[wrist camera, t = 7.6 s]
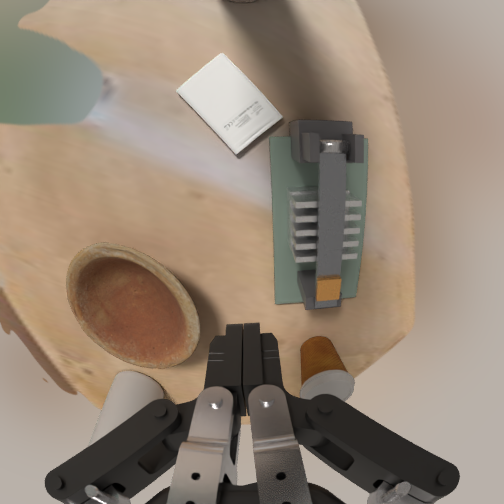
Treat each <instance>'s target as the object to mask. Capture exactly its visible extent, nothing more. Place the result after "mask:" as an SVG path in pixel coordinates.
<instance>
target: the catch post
mask: <svg viewBox="0 0 504 504" xmlns="http://www.w3.org/2000/svg"><path fill="white" fill-rule="evenodd" d="M315 276H316V269H315V270H300V271H297V283H298V287H299V290H300V293H301V297H302V300H303V303H304V307H305V310H310V309H321V308H315V307H314V292H315ZM341 299H342V293H341V291H340V296H339V299H337V306H333V307H341ZM323 308H331V307H323Z"/></svg>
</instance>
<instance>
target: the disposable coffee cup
mask: <svg viewBox="0 0 504 504" xmlns="http://www.w3.org/2000/svg"><path fill="white" fill-rule="evenodd" d="M300 351H301V381H302V387H301V390H300V398H303V399H310V400H311V399H312V398H313V397H315V396H317V395H319V394H331V395H334V396H336V397H338V398H340V399H341V400H343V401H344V402H345V401H346V400H347V399H348V398H349V397H350V396H351V395H352V393H353V390H354V384H355V382H354V378H353V377H352V376H351V375H350V374H349V373H348V372H347V370H346V368H345V366H344V365H343V363H342V361H341V359H340V357H339V355H338V354H337V352H336V350H335V348H334V346H333V344H332V343H331V341H330V340H329V339H328V338H326V337H322V336H318V337H313V338H311V339H309V340H307V341H306V342H304V343H303V345H302V347H301V350H300Z"/></svg>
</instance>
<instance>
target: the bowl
mask: <svg viewBox="0 0 504 504" xmlns="http://www.w3.org/2000/svg"><path fill="white" fill-rule="evenodd" d="M66 289H67V297H68V301H69V304H70V307H71V309H72V311H73V313H74V315H75V317H76V319H77V321H78V322H79V324H80V325H81V327H82V329H83V331H84V332H85V333H86V334H87V335H88V336H89V337H90V338H91V339H92V340H93V341H94V342H95V343H97V344H98V345H99V346H100V347H102V348H103V349H104V350H106V351H107V352H108V353H110V354H112V355H113V356H115V357H117V358H119V359H121V360H123V361H125V362H127V363H130V364H133V365H136V366H140V367H146V368H158V369H165V368H168V367H172V366H175V365H178V364H180V363H182V362H184V361H185V360H186V359H188V358H189V357H190V356H191V355H192V354H193V352H194V351H195V349H196V347H197V345H198V342H199V338H200V320H199V316H198V312H197V309H196V307H195V304H194V302H193V300H192V299H191V297H190V295H189V294H188V292H187V290H186V289H185V288H184V286H183V285H182V284H181V282H180V281H179V280H178V279H177V278H176V277H175V276H174V275H173V274H172V273H171V272H170V271H169V270H168V269H166V268H165V267H164V266H163V265H161V264H160V263H159V262H157V261H156V260H155V259H153V258H151V257H150V256H148V255H146V254H144V253H142V252H139V251H137V250H135V249H133V248H129V247H126V246H122V245H118V244H112V243H107V242H103V243H96V244H93V245H90V246H88V247H86V248H84V249H83V250H82V251H80V252H79V253H78V254H77V255H76V256H75V257H74V258H73V260H72V261H71V263H70V265H69V268H68V272H67V278H66Z"/></svg>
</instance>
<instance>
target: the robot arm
mask: <svg viewBox="0 0 504 504" xmlns="http://www.w3.org/2000/svg"><path fill="white" fill-rule="evenodd" d="M229 1H233V2H253V1H256V0H229ZM246 407H247V413H248V416H250V422H251V430H252V439H253V451H254V460H255V468H256V476H257V482H256V483H252V484H248V485H244V486H238V485H237V460H238V451H239V442H240V428H241V416H246ZM299 444H300V445H303V446H304V447H305V448H306V449H307V450H308V451H310V452H311V453H312V454H314V455H315V456H316V457H318V458H319V459H320V460H322V461H323V462H324V463H326V464H327V465H328V466H330V467H331V468H333V469H334V470H335V471H337V472H338V473H340V474H341V475H343V476H344V477H345V478H347V479H349V480H350V481H351V482H353V483H355V484H356V485H357V486H359V487H361V488H362V489H364V490H366V491H367V492H368V493H370V495H369V497H368V500H367V504H434V503H435V502H436V501H437V500H439V499H441V498H443V497H444V496H446V495H448V494H450V493H451V492H452V491H453V490H454V489H455V488H456V487H457V485H458V482H459V478H460V475H459V471H458V469H457V467H456V466H454V465H453V464H452V463H449V462H448V461H446V460H443V459H442V458H440V457H438V456H436V455H434V454H432V453H430V452H428V451H426V450H424V449H423V448H421V447H419V446H417V445H415V444H413V443H412V442H410V441H408V440H406V439H405V438H403V437H401V436H399V435H398V434H396V433H394V432H392V431H391V430H389V429H387V428H386V427H384V426H382V425H381V424H379V423H377V422H376V421H374V420H372V419H370V418H369V417H368V416H366V415H364V414H363V413H361V412H360V411H358V410H356V409H355V408H353V407H352V406H350V405H349V404H347V403H345V402H344V401H343V400H341V399H340V398H338V397H336V396H334V395H331V394H319V395H317V396H315V397H313V398H312V399H311V400H310V399H303V398H298V397H295V396H292V395H290V394H289V393H288V392H287V391H286V390H285V388H284V386H283V382H282V374H281V366H280V358H279V350H278V342H277V339H276V338H275V337H274V335H273V334H272V333H262V334H260V324H259V323H244V330H243V324H227V325H226V336H215V338H214V339H213V341H212V342H211V343H210V349H209V356H208V363H207V371H206V378H205V385H204V390H203V391H202V392H201V393H200V394H199V396H198V397H197V398H196V399H194V400H192V401H190V402H186V403H182V404H177V405H175V404H174V403H173V402H172V401H170V400H167V399H157V400H154V401H152V402H150V403H149V404H147V405H146V406H145V407H143V408H142V409H141V410H139V411H138V412H137V413H135V414H134V415H133V416H131V417H130V418H128V419H127V420H126V421H124V422H123V423H122V424H120V425H119V426H117V427H116V428H115V429H113V430H112V431H110V432H109V433H108V434H106V435H105V436H103V437H102V438H100V439H99V440H98V441H96V442H95V443H93V444H92V445H90V446H89V447H87V448H86V449H84V450H83V451H81V452H80V453H78V454H77V455H75V456H74V457H72V458H71V459H69V460H68V461H66V462H64V463H63V464H61V465H60V466H58V467H56V468H55V469H53V470H52V471H50V472H49V473H48V474H47V476H46V478H45V487H46V490H47V492H48V493H49V494H50V495H51V496H52V497H53V498H55V499H57V500H59V501H61V502H63V503H64V504H131V503H130V500H129V499H130V498H132V497H133V496H135V495H136V494H137V493H139V492H140V491H141V490H143V489H144V488H145V487H147V486H148V485H149V484H151V483H152V482H153V481H155V480H156V479H157V478H158V477H159V476H161V475H162V474H163V473H165V472H166V471H167V470H168V469H170V468H171V467H172V466H173V465H175V464H176V465H175V469H174V473H173V477H172V482H171V486H169V487H167V488H165V489H163V490H162V491H160V492H159V493H158V494H156V495H155V496H154V497H153V498H152V499H150V500H149V501H148V502H147V503H145V504H345V503H344V502H343V501H341V500H340V499H339V498H337V497H336V496H335V495H333V494H332V493H331V492H329V491H328V490H326V489H325V488H323V487H321V486H318V485H315V484H312V483H308V482H307V478H306V474H305V470H304V465H303V461H302V457H301V452H300V448H299Z"/></svg>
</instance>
